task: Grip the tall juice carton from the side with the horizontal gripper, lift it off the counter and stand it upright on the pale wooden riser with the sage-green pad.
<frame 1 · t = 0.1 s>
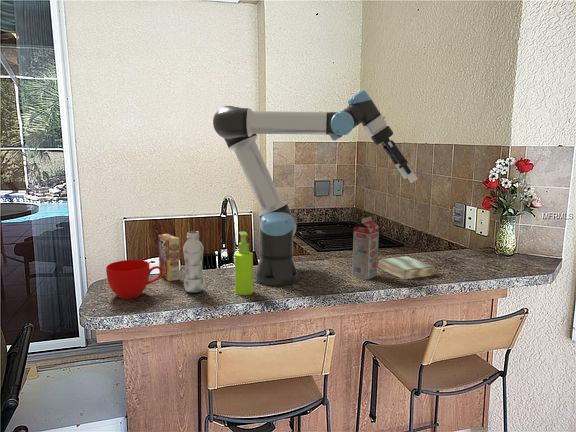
hand: (411, 179, 168), 36 cm above the table, tool tilted 35°, fingers open, 13 cm apart
soap dispenser: (243, 292, 152), on the table
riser: (405, 271, 177), on the table
juice carton: (364, 276, 170), on the table
plastic bottle: (194, 292, 151), on the table
ceramic cup: (136, 295, 148), on the table
candy box: (169, 278, 165), on the table
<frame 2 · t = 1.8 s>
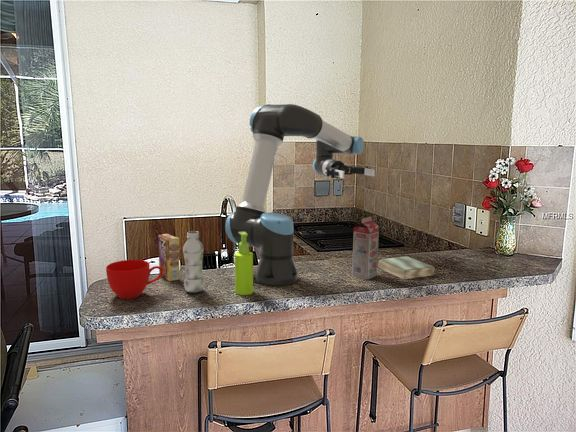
hand: (358, 173, 180), 36 cm above the table, tool horizontal, fingers open, 13 cm apart
nothing on the table moved.
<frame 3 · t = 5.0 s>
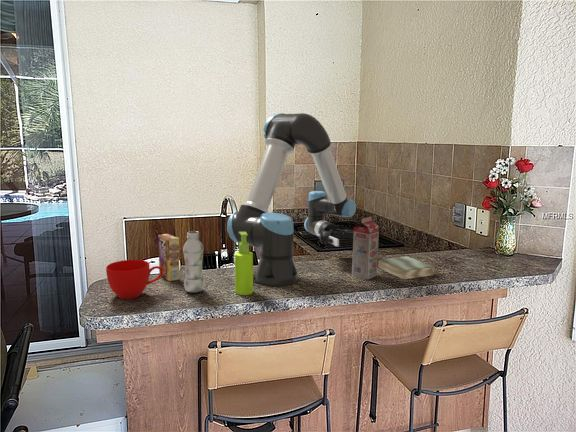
hand: (353, 241, 176), 11 cm above the table, tool horizontal, fingers open, 13 cm apart
nothing on the table moved.
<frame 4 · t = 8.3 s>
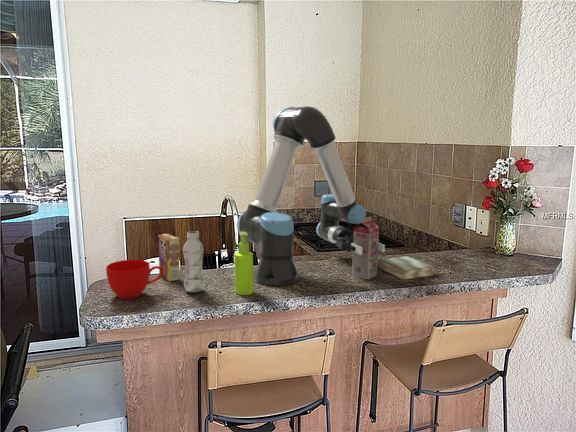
hand: (372, 249, 164), 11 cm above the table, tool horizontal, fingers closed on juice carton, 9 cm apart
juice carton: (364, 276, 170), on the table, touching gripper
everything else where it was.
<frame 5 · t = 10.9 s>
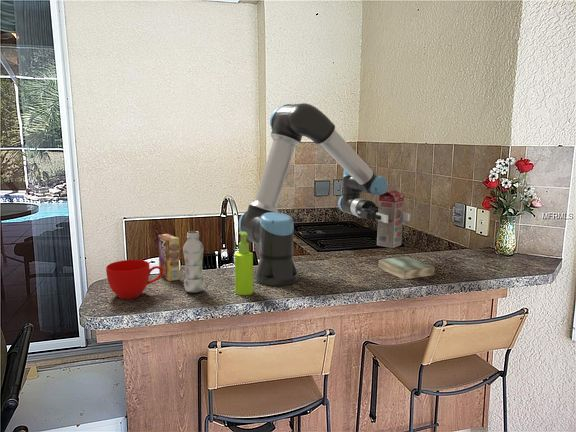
hand: (398, 218, 166), 22 cm above the table, tool horizontal, fingers closed on juice carton, 9 cm apart
juice carton: (389, 245, 173), point 11 cm above the table, touching gripper
everything else where it was.
when the fingers open (16 cm above the table, at t = 13.7 s): juice carton drops 2 cm, resting on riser.
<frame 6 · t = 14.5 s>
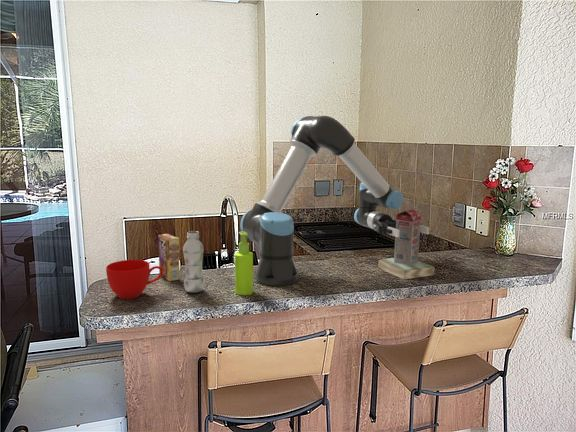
hand: (413, 232, 171), 16 cm above the table, tool horizontal, fingers open, 13 cm apart
juice carton: (405, 263, 176), point 3 cm above the table, touching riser
everything else where it was.
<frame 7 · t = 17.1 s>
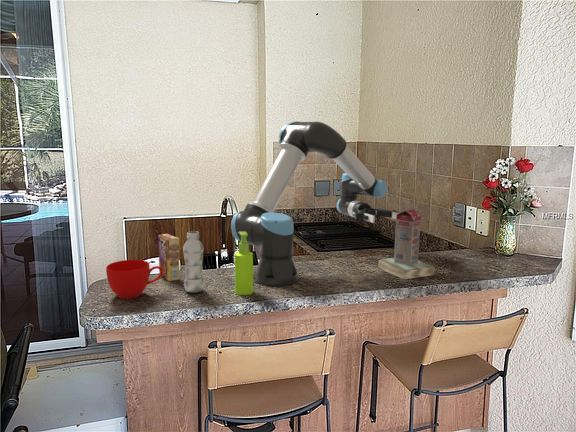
hand: (388, 218, 183), 19 cm above the table, tool horizontal, fingers open, 13 cm apart
nothing on the table moved.
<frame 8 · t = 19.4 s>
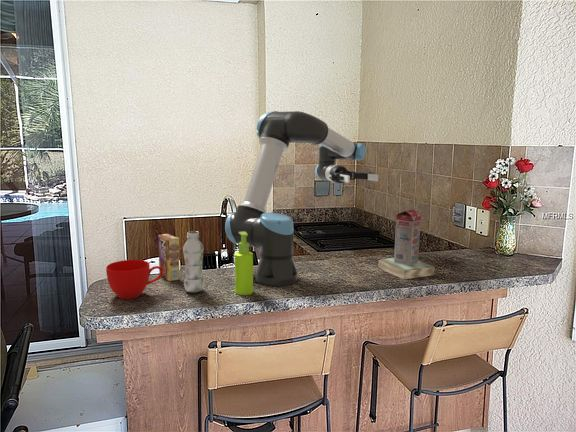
hand: (363, 178, 185), 34 cm above the table, tool horizontal, fingers open, 13 cm apart
nothing on the table moved.
at the end: juice carton 0.1 cm from the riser (horizontally); juice carton tilted 0°; the gripper is holding nothing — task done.
